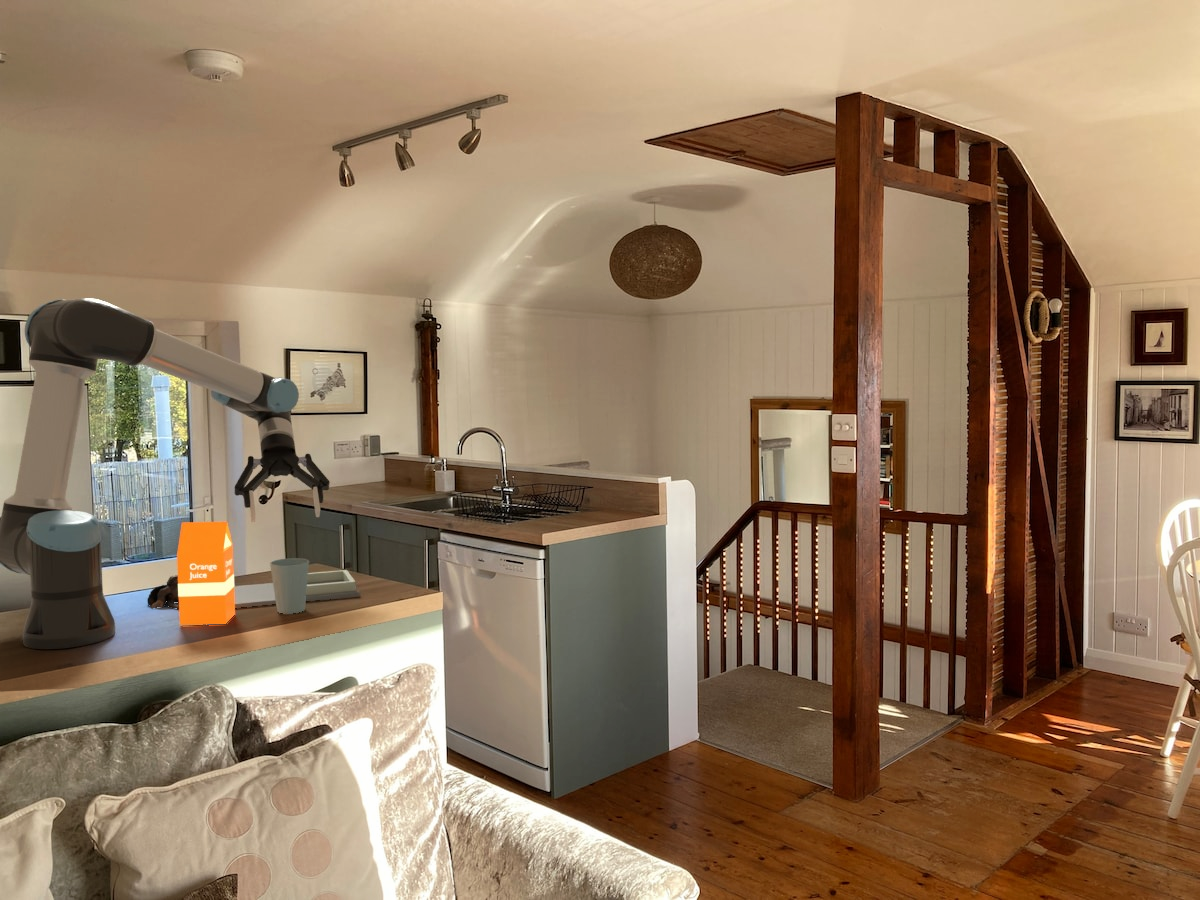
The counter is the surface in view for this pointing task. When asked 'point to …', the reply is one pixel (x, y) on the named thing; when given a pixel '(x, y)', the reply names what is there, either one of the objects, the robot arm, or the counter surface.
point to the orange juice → (205, 574)
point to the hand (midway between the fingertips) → (286, 515)
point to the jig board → (317, 589)
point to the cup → (290, 584)
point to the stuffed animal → (165, 594)
